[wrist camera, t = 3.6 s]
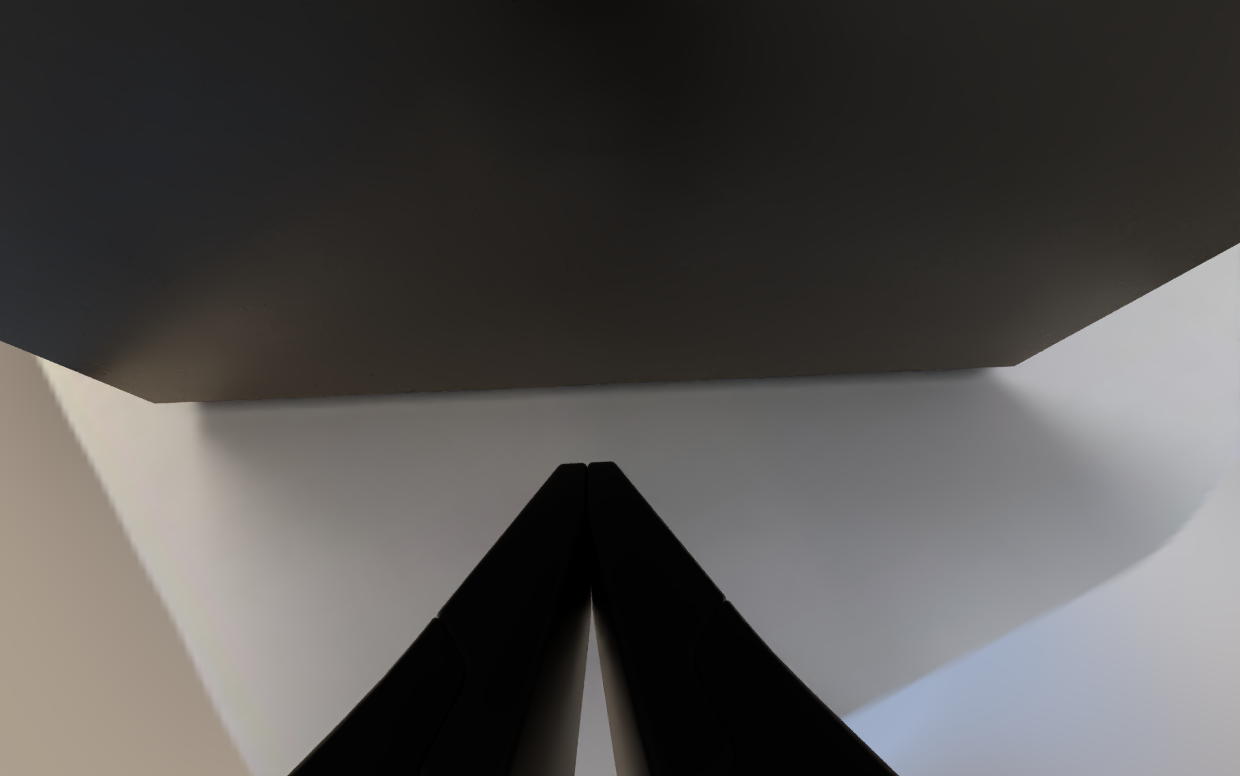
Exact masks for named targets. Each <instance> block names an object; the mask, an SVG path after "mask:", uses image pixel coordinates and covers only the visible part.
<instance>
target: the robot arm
mask: <svg viewBox="0 0 1240 776" xmlns="http://www.w3.org/2000/svg"><path fill="white" fill-rule="evenodd" d="M591 589H592V591H591ZM591 598H592V605H593V616H594V624H595V631H596V638H597V644H598V651H599V658H600V665H601V671H602V678H603V685H604V691H605V698H606V705H607V712H608V718H609V725H610V732H611V739H612V745H613V752H614V759H615V765H616V772H617V776H899V775H898V774H897V773H896V772H894V771H893V770H892V769H891V768H890V767H889V766H888V765H887V764H886V763H885V762H884V761H883V760H882V759H881V758H880V757H879V756H878V755H877V754H876V753H875V752H874V751H873V750H872V749H871V748H870V747H869V746H868V745H867V744H866V743H865V742H863V741H862V740H861V739H860V738H859V737H858V736H857V735H856V734H855V733H854V732H853V731H852V730H851V729H850V728H849V727H848V726H847V725H846V724H845V723H844V722H843V721H842V720H841V719H840V718H839V717H838V716H837V715H836V714H835V713H834V712H832V711H831V710H830V709H829V708H828V707H827V706H826V705H825V704H824V703H823V702H822V701H821V700H820V699H819V698H818V697H817V696H816V695H815V694H814V693H813V692H812V691H811V690H810V689H809V688H808V687H807V686H806V685H805V684H804V683H803V682H802V681H801V680H800V679H799V678H798V677H797V676H796V675H795V674H794V673H793V672H792V671H791V670H790V669H789V668H788V667H787V666H786V665H785V664H784V663H783V662H782V661H781V660H780V659H779V658H778V657H777V656H776V655H775V654H774V653H773V651H772V650H771V649H770V648H769V647H768V646H767V645H766V643H765V642H764V641H763V640H762V639H761V638H760V637H759V636H758V634H757V633H756V632H755V631H754V630H753V629H752V628H751V626H750V625H749V624H748V623H747V622H746V621H745V619H744V618H743V617H742V616H741V615H740V613H739V612H738V611H737V610H736V608H735V607H734V606H733V605H732V603H731V602H730V601H727V600H726V597H725V595H724V594H723V593H722V592H721V591H720V589H719V588H718V587H717V586H716V585H715V583H714V582H713V581H712V580H711V578H710V577H709V576H708V575H707V574H706V572H705V571H704V570H703V569H702V568H701V566H700V565H699V564H698V563H697V562H696V560H695V559H694V558H693V557H692V556H691V554H690V553H689V552H688V551H687V549H686V548H685V547H684V546H683V545H682V543H681V542H680V541H679V540H678V539H677V537H676V536H675V535H674V534H673V533H672V531H671V530H670V529H669V528H668V526H667V525H666V524H665V523H664V522H663V520H662V519H661V518H660V517H659V516H658V514H657V513H656V512H655V511H654V510H653V508H652V507H651V506H650V505H649V504H648V502H647V501H646V500H645V499H644V497H643V496H642V495H641V494H640V493H639V491H638V490H637V489H636V488H635V487H634V485H633V484H632V483H631V482H630V481H629V479H628V478H627V477H626V476H625V474H624V473H623V472H622V471H621V470H620V468H619V467H618V466H617V465H616V464H615V463H614V462H611V461H610V462H592V463H590V464H589V465H588V466H586V464H584V463H570V464H561V465H559V466H558V467H557V468H556V470H555V471H554V472H553V473H552V475H551V476H550V477H549V478H548V479H547V481H546V482H545V483H544V484H543V486H542V487H541V488H540V489H539V490H538V492H537V493H536V494H535V495H534V496H533V498H532V499H531V500H530V501H529V503H528V504H527V505H526V506H525V507H524V509H523V510H522V511H521V512H520V514H519V515H518V516H517V517H516V518H515V520H514V521H513V522H512V523H511V525H510V526H509V527H508V528H507V529H506V531H505V532H504V533H503V534H502V535H501V537H500V538H499V539H498V540H497V542H496V543H495V544H494V545H493V546H492V548H491V549H490V550H489V551H488V553H487V554H486V555H485V556H484V557H483V559H482V560H481V561H480V562H479V563H478V565H477V566H476V567H475V568H474V570H473V571H472V572H471V573H470V574H469V576H468V577H467V578H466V579H465V581H464V582H463V583H462V584H461V585H460V587H459V588H458V589H457V590H456V592H455V593H454V594H453V595H452V596H451V598H450V599H449V600H448V601H447V602H446V604H445V605H444V606H443V607H442V609H441V610H440V611H439V612H438V614H437V617H438V618H433V619H432V620H431V622H430V623H429V624H428V625H427V626H426V628H425V629H424V630H423V631H422V633H421V634H420V635H419V636H418V637H417V639H416V640H415V641H414V642H413V643H412V645H411V646H410V647H409V648H408V649H407V650H406V651H405V653H404V654H403V655H402V656H401V657H400V658H399V660H398V661H397V662H396V663H395V664H394V665H393V666H392V668H391V669H390V670H389V671H388V672H387V673H386V675H385V676H384V677H383V678H382V679H381V680H380V681H379V682H378V683H377V684H376V685H375V686H374V687H373V689H372V690H371V691H370V692H369V693H368V694H367V695H366V696H365V697H364V698H363V699H362V700H361V701H360V702H359V703H358V704H357V705H356V706H355V707H354V709H353V710H352V711H351V712H350V713H349V714H348V715H347V716H346V717H345V718H344V719H343V720H342V721H341V722H340V723H339V724H338V725H337V726H336V727H335V728H334V729H333V730H332V731H331V732H330V733H329V734H328V735H327V736H326V737H325V738H324V739H323V740H322V741H321V742H320V743H319V744H318V745H317V746H316V747H315V748H314V749H313V750H312V751H311V752H310V753H309V754H308V756H307V757H306V758H305V759H304V760H303V761H302V762H301V763H300V764H299V765H298V766H297V767H296V768H295V769H294V770H293V771H292V772H291V773H290V774H289V775H288V776H574V773H575V763H576V754H577V744H578V735H579V726H580V716H581V707H582V697H583V688H584V678H585V669H586V659H587V650H588V641H589V631H590V620H591Z"/></svg>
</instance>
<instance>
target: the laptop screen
mask: <svg viewBox="0 0 1240 776" xmlns="http://www.w3.org/2000/svg"><path fill="white" fill-rule="evenodd" d="M1238 243H1240V0H0V341H2V342H5V343H7V344H10V345H12V346H15V347H17V348H20V349H22V350H25V351H27V352H30V353H32V354H34V355H37V356H39V357H42V358H44V359H47V360H49V361H52V362H54V363H57V364H59V365H61V366H64V367H66V368H69V369H71V370H74V371H76V372H79V373H81V374H84V375H86V376H88V377H91V378H93V379H96V380H98V381H101V382H103V383H106V384H108V385H111V386H113V387H115V388H118V389H120V390H123V391H125V392H128V393H130V394H133V395H135V396H138V397H140V398H143V399H145V400H147V401H150V402H152V403H176V402H200V401H223V400H246V399H269V398H292V397H315V396H338V395H361V394H384V393H407V392H430V391H454V390H477V389H500V388H523V387H546V386H569V385H592V384H615V383H638V382H661V381H684V380H708V379H731V378H754V377H777V376H800V375H823V374H846V373H869V372H892V371H915V370H938V369H962V368H985V367H1008V366H1015V365H1017V364H1019V363H1021V362H1023V361H1025V360H1026V359H1028V358H1030V357H1032V356H1034V355H1036V354H1037V353H1039V352H1041V351H1043V350H1045V349H1047V348H1048V347H1050V346H1052V345H1054V344H1056V343H1058V342H1059V341H1061V340H1063V339H1065V338H1067V337H1068V336H1070V335H1072V334H1074V333H1076V332H1078V331H1079V330H1081V329H1083V328H1085V327H1087V326H1089V325H1090V324H1092V323H1094V322H1096V321H1098V320H1100V319H1101V318H1103V317H1105V316H1107V315H1109V314H1111V313H1112V312H1114V311H1116V310H1118V309H1120V308H1121V307H1123V306H1125V305H1127V304H1129V303H1131V302H1132V301H1134V300H1136V299H1138V298H1140V297H1142V296H1143V295H1145V294H1147V293H1149V292H1151V291H1153V290H1154V289H1156V288H1158V287H1160V286H1162V285H1164V284H1165V283H1167V282H1169V281H1171V280H1173V279H1174V278H1176V277H1178V276H1180V275H1182V274H1184V273H1185V272H1187V271H1189V270H1191V269H1193V268H1195V267H1196V266H1198V265H1200V264H1202V263H1204V262H1206V261H1207V260H1209V259H1211V258H1213V257H1215V256H1217V255H1218V254H1220V253H1222V252H1224V251H1226V250H1228V249H1229V248H1231V247H1233V246H1235V245H1237V244H1238Z"/></svg>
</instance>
